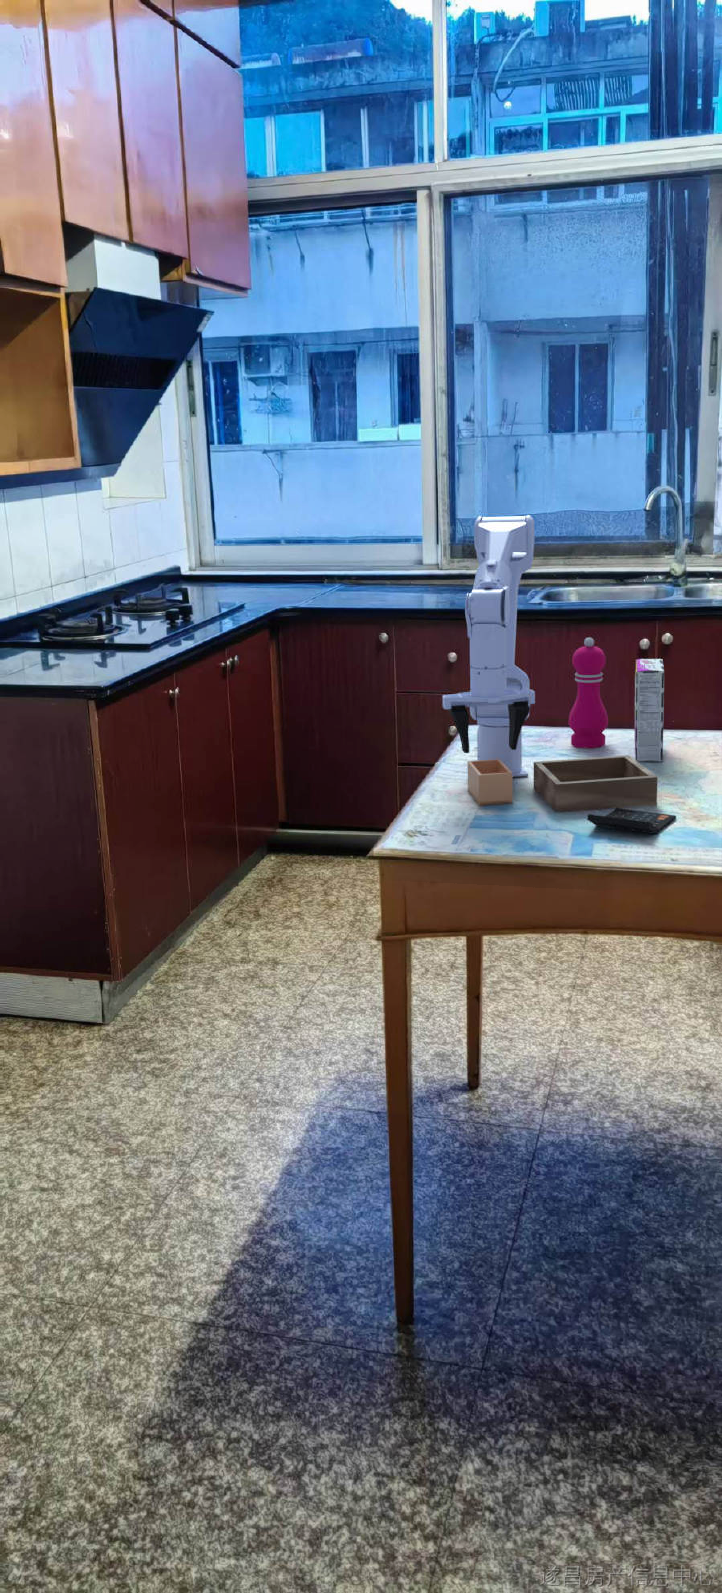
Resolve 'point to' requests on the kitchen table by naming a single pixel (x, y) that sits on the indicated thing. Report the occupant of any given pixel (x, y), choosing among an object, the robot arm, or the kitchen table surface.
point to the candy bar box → (649, 710)
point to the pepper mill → (588, 698)
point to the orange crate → (490, 782)
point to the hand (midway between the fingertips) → (489, 750)
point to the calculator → (633, 820)
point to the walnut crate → (595, 783)
